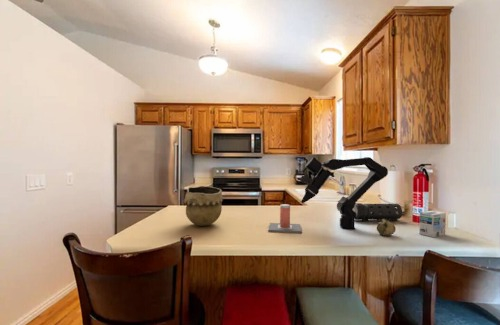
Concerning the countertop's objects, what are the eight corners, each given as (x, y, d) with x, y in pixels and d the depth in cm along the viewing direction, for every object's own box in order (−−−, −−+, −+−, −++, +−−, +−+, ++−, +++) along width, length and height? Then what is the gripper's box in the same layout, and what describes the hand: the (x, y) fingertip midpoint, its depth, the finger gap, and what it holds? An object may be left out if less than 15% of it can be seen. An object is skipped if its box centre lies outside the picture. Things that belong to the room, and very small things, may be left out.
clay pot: (231, 227, 138) (231, 188, 137) (192, 233, 126) (192, 191, 125) (213, 219, 155) (213, 184, 155) (177, 223, 143) (177, 186, 143)
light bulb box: (433, 237, 123) (433, 214, 123) (418, 234, 129) (418, 211, 129) (446, 235, 128) (446, 212, 128) (431, 231, 134) (431, 210, 134)
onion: (396, 238, 121) (397, 220, 121) (377, 236, 124) (377, 219, 124) (394, 234, 128) (394, 217, 128) (375, 232, 131) (376, 216, 131)
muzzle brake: (402, 222, 153) (402, 204, 152) (355, 222, 150) (355, 204, 150) (392, 218, 162) (392, 201, 162) (348, 219, 160) (348, 201, 160)
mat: (299, 225, 141) (299, 223, 141) (301, 233, 128) (301, 231, 128) (269, 224, 143) (269, 222, 143) (268, 231, 130) (268, 229, 130)
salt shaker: (291, 226, 136) (291, 204, 136) (287, 228, 132) (287, 206, 132) (282, 224, 139) (282, 203, 139) (278, 227, 135) (278, 205, 134)
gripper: (307, 171, 149) (290, 193, 149) (308, 167, 131) (288, 192, 131) (323, 183, 147) (306, 205, 147) (327, 181, 129) (307, 207, 129)
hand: (301, 202), depth 139 cm, fingers open, 9 cm apart
